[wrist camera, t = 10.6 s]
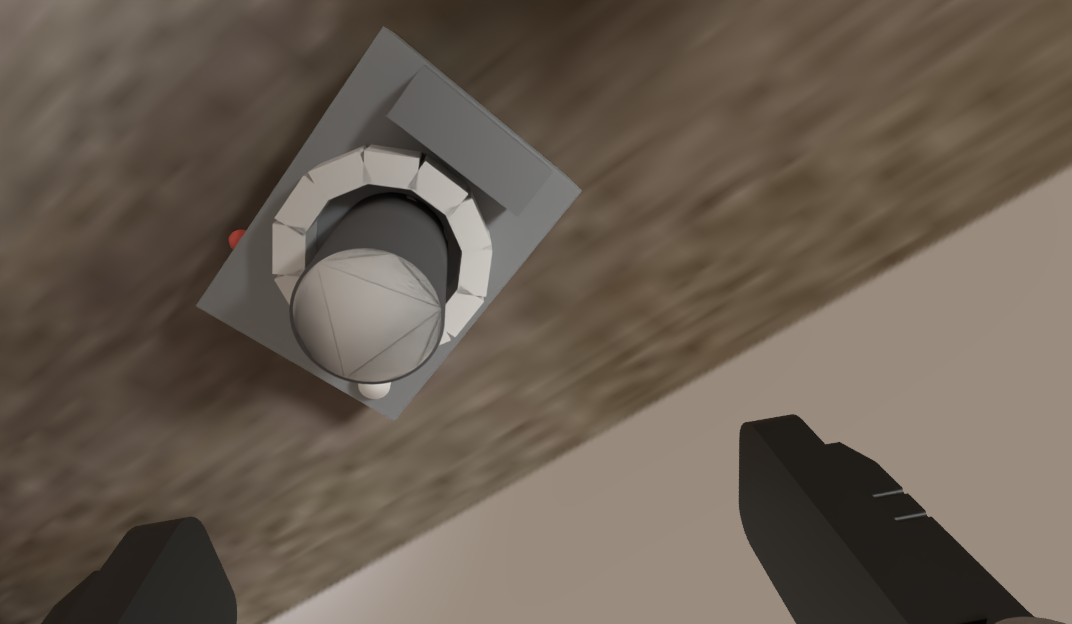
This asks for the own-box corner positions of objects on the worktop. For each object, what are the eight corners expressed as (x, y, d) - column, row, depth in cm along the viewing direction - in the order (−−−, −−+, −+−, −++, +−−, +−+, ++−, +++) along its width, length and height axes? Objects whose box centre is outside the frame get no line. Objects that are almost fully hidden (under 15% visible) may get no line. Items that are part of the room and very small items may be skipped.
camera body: (383, 23, 26) (359, 8, 20) (564, 173, 30) (593, 202, 23) (220, 266, 29) (155, 320, 23) (402, 376, 33) (388, 450, 27)
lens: (317, 216, 25) (259, 279, 17) (421, 175, 25) (406, 221, 17) (368, 311, 27) (334, 404, 19) (464, 273, 26) (467, 353, 19)
